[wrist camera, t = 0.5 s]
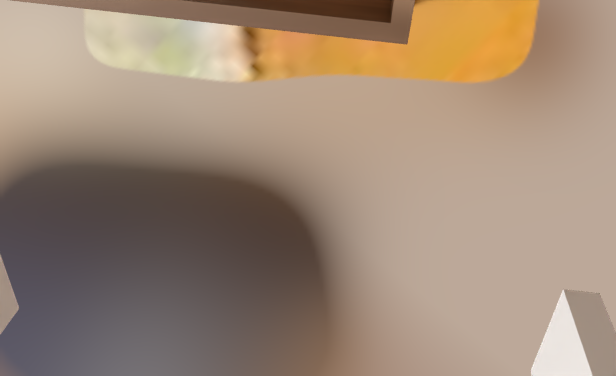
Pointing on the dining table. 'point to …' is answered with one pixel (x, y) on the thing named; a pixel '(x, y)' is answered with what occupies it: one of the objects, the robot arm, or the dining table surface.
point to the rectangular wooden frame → (276, 14)
